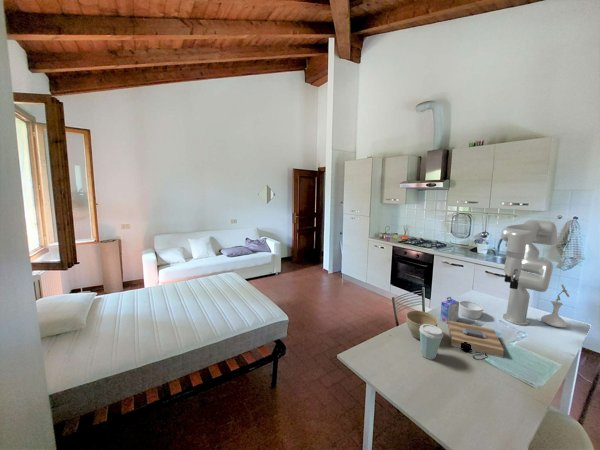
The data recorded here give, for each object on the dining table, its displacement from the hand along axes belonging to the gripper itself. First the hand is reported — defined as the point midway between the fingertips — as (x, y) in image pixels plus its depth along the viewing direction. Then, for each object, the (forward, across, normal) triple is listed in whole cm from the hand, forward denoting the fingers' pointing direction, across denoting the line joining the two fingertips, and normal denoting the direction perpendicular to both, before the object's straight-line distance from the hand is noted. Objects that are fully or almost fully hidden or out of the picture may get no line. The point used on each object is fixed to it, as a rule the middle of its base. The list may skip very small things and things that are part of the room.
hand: (510, 285), depth 140 cm
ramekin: (+31, -20, -13) cm, 39 cm away
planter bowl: (+31, +19, -42) cm, 55 cm away
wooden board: (+30, +12, -16) cm, 36 cm away
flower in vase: (+31, -30, +32) cm, 53 cm away
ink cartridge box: (+31, -7, -26) cm, 41 cm away
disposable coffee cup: (+31, +36, -38) cm, 61 cm away
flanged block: (+30, +12, -16) cm, 36 cm away
